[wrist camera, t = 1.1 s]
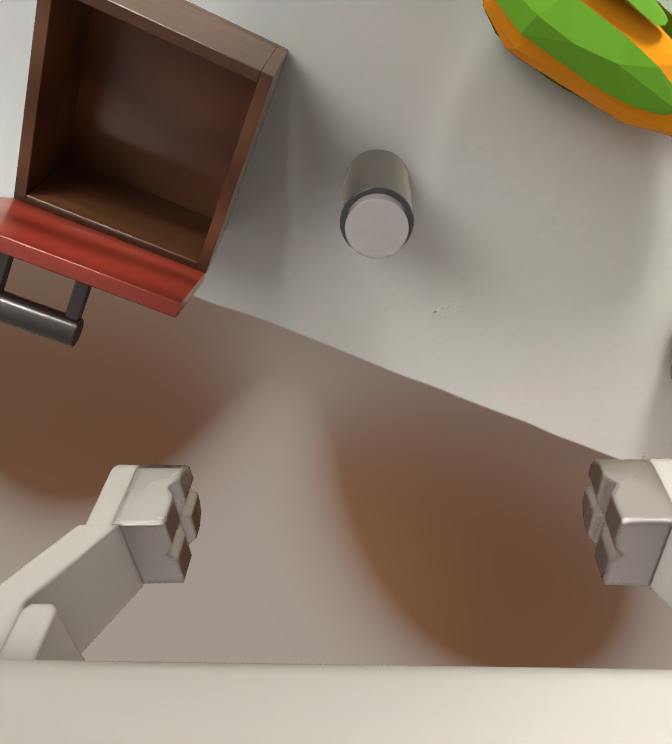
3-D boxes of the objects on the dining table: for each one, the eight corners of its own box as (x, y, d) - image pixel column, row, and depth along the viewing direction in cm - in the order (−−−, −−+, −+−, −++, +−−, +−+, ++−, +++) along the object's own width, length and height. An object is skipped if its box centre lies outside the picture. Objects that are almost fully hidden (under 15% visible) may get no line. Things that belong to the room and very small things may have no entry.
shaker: (334, 163, 50) (327, 208, 43) (397, 139, 49) (400, 182, 42) (357, 220, 53) (354, 272, 46) (417, 199, 52) (424, 249, 44)
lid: (-118, 190, 29) (-143, 284, 30) (181, 303, 32) (151, 386, 33) (11, 197, 44) (-7, 259, 45) (205, 273, 47) (184, 330, 48)
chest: (92, -45, 43) (40, -33, 36) (288, 49, 45) (273, 76, 39) (59, 160, 51) (13, 200, 45) (226, 228, 54) (205, 275, 47)
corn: (545, -100, 33) (802, 101, 39) (525, -111, 39) (751, 66, 44) (460, 34, 38) (701, 199, 43) (453, 7, 44) (666, 155, 49)
